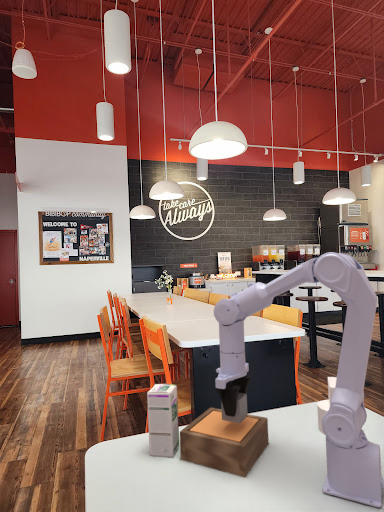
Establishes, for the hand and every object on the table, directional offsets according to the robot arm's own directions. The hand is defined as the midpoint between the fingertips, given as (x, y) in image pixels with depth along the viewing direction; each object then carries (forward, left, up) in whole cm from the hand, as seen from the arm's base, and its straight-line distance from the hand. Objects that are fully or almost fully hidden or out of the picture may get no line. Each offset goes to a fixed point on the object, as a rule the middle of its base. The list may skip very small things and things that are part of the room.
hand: (234, 411), depth 79 cm
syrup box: (+16, +6, -10) cm, 19 cm away
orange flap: (+3, 0, -4) cm, 5 cm away
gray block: (0, 0, -1) cm, 1 cm away
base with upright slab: (-18, -22, -10) cm, 30 cm away
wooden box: (+3, 0, -9) cm, 10 cm away
